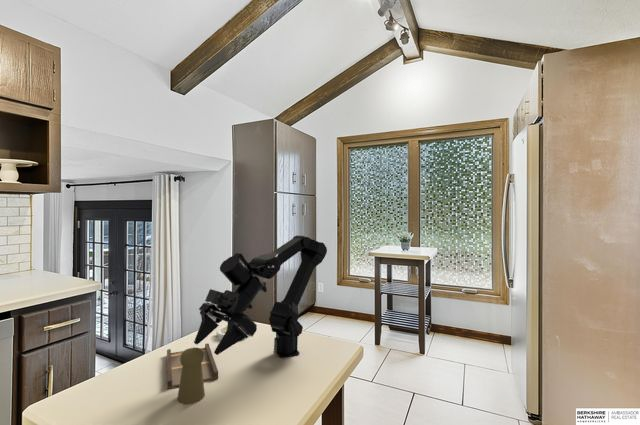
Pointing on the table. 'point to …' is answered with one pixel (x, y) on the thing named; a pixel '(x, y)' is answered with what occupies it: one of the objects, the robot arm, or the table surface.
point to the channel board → (176, 367)
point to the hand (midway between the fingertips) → (205, 348)
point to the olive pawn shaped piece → (191, 377)
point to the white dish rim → (221, 332)
